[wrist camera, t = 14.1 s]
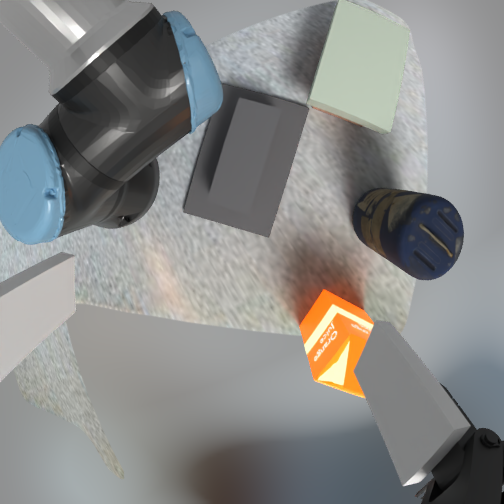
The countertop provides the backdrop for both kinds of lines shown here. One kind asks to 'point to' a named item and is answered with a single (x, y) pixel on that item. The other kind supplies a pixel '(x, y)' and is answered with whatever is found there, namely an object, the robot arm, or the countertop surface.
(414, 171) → the countertop surface
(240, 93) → the mat stand
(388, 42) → the board
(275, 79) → the countertop surface
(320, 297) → the orange juice
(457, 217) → the canister
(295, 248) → the countertop surface
